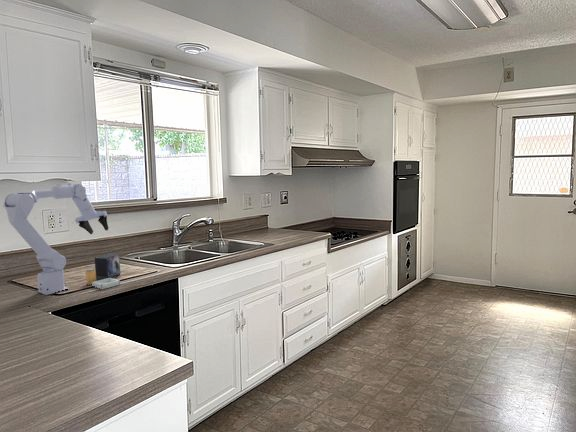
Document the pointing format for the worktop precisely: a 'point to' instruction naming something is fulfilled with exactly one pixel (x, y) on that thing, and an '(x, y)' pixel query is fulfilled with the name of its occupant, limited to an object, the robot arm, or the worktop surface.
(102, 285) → the tray
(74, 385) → the worktop surface
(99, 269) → the small box
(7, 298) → the worktop surface
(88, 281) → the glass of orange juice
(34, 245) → the robot arm
